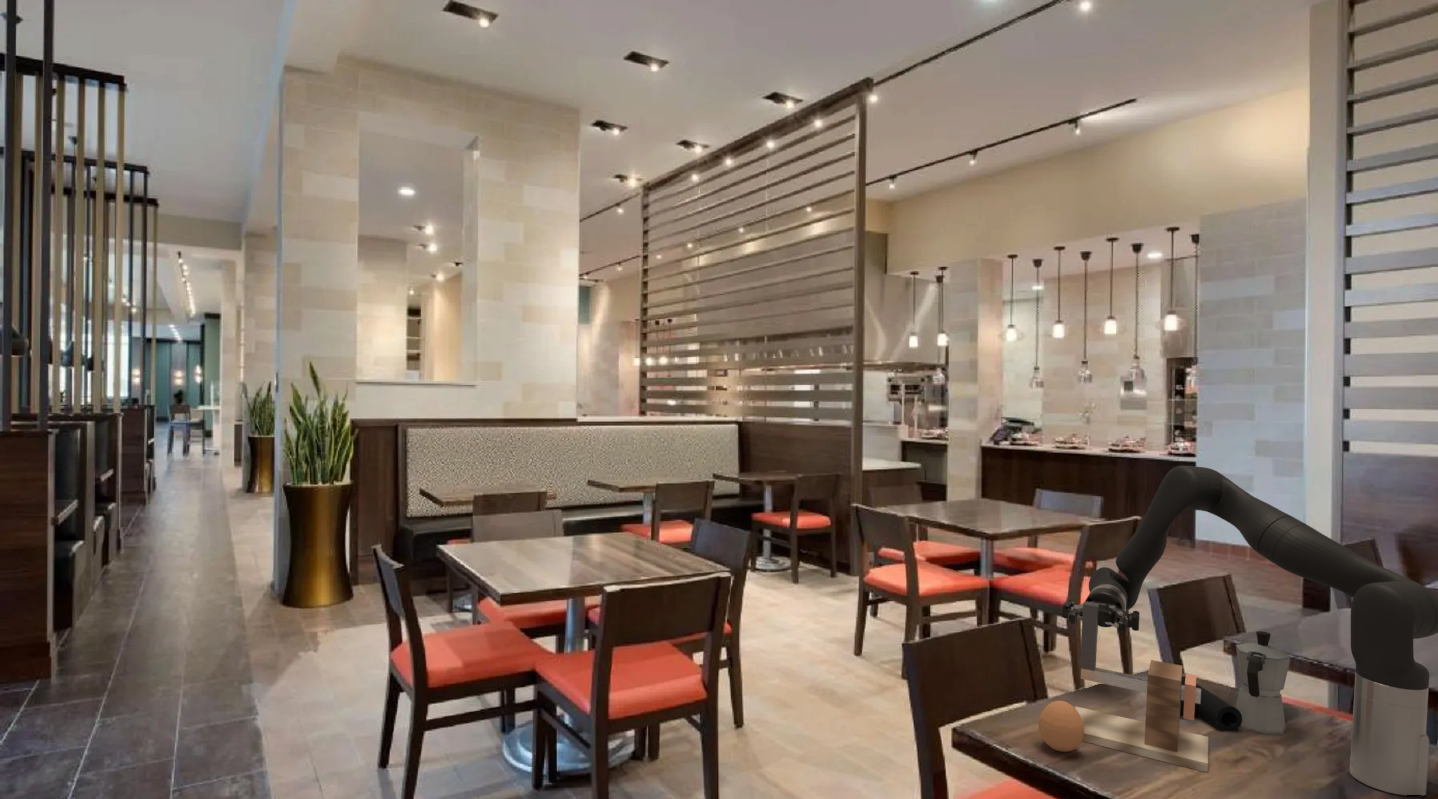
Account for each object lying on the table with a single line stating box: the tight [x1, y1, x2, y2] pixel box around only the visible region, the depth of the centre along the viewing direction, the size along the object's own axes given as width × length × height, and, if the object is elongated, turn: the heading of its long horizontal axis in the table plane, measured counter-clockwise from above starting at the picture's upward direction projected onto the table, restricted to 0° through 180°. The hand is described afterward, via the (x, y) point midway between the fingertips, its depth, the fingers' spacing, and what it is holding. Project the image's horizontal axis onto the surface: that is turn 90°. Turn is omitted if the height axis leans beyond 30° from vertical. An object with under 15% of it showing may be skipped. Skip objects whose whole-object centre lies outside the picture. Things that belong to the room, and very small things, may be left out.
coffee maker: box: [1234, 630, 1291, 736], centre depth 150 cm, size 15×9×18 cm, turn 135°
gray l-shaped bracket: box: [1079, 600, 1201, 704], centre depth 142 cm, size 19×2×14 cm, turn 58°
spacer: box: [1182, 672, 1197, 721], centre depth 138 cm, size 2×6×6 cm, turn 148°
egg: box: [1038, 700, 1084, 753], centre depth 138 cm, size 7×7×8 cm
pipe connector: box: [1180, 675, 1242, 732], centre depth 156 cm, size 12×5×15 cm
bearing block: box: [1074, 659, 1209, 773], centre depth 143 cm, size 22×12×14 cm, turn 58°
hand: (1096, 623), depth 156 cm, fingers open, 8 cm apart
